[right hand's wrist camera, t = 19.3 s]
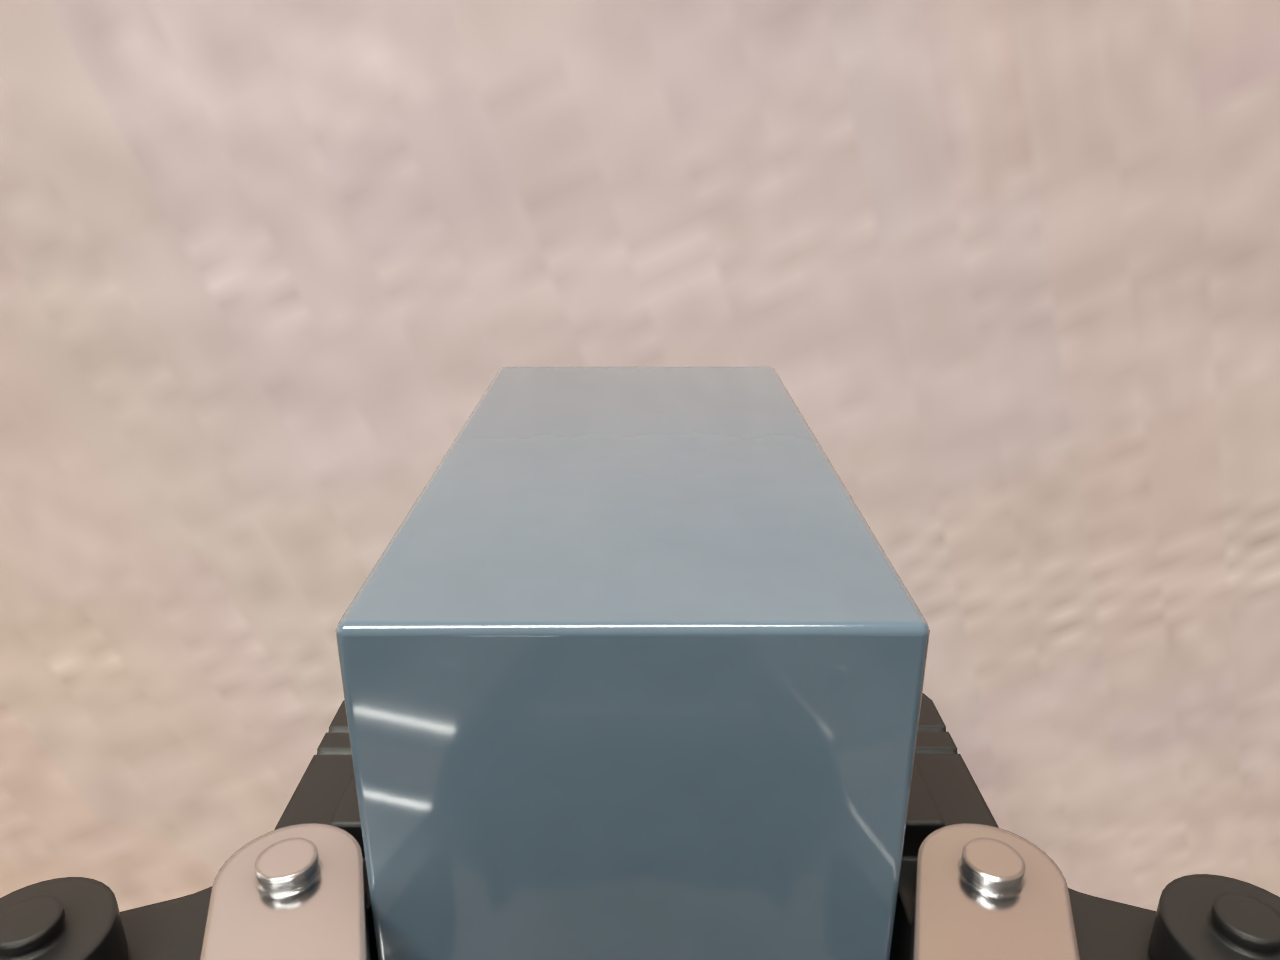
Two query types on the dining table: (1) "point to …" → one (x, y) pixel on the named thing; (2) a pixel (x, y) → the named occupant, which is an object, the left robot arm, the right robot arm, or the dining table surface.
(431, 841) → the block
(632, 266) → the dining table surface
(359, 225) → the dining table surface
